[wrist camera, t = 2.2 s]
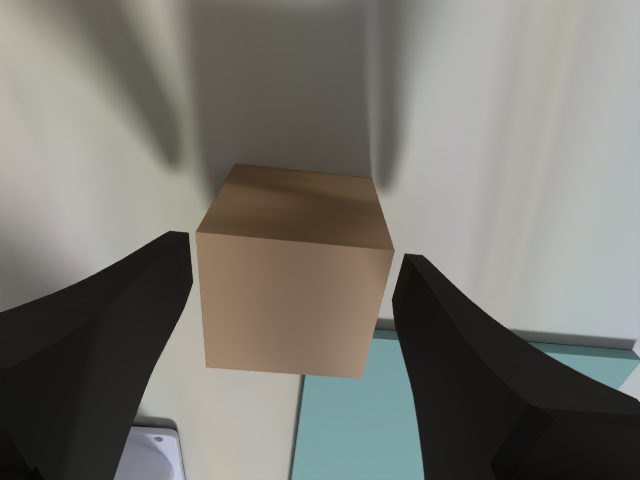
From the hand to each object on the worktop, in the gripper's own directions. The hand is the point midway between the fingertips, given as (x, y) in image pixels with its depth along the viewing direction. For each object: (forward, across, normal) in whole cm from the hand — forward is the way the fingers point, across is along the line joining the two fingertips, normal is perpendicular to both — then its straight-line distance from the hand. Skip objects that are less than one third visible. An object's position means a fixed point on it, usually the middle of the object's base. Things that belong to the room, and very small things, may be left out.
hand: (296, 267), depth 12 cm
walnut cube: (+3, 0, 0) cm, 3 cm away
